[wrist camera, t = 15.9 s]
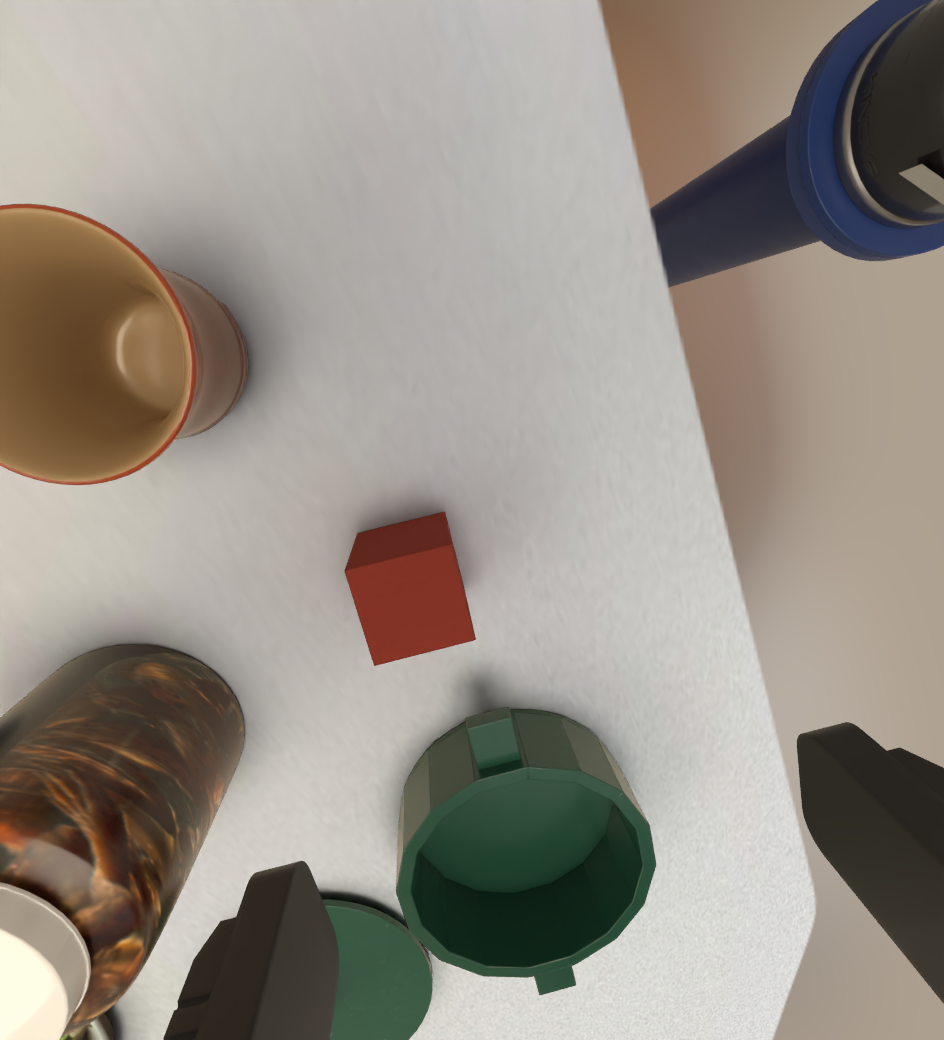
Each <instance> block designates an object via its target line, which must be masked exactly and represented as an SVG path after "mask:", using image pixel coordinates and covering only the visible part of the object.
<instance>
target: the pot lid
mask: <svg viewBox="0 0 944 1040" xmlns="http://www.w3.org/2000/svg"><path fill="white" fill-rule="evenodd" d="M323 903H324V905H325V908H326V910H327V913H328V915H329V918H330V920H331V923H332V925H333V928H334V930H335V934H336V938H337V944H338V953H339V975H338V984H337V991H336V998H335V1005H334V1013H333V1020H332V1027H331V1034H330V1040H409V1039H410V1038H411V1036H412V1035H413V1034H414V1033H415V1032H416V1031H417V1029H418V1028H419V1026H420V1024H421V1023H422V1021H423V1019H424V1017H425V1015H426V1013H427V1011H428V1008H429V1004H430V1001H431V995H432V972H431V967H430V963H429V959H428V957H427V955H426V953H425V950H424V948H423V947H422V945H421V944H420V942H419V941H418V939H417V938H416V937H415V936H414V935H413V934H412V933H411V932H410V931H409V929H407V928H406V927H405V926H404V925H403V924H401V923H400V922H399V921H397V920H396V919H394V918H392V917H391V916H389V915H387V914H385V913H383V912H381V911H379V910H377V909H374V908H371V907H368V906H365V905H362V904H358V903H353V902H348V901H340V900H330V899H328V900H323Z"/></svg>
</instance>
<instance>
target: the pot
mask: <svg viewBox="0 0 944 1040" xmlns="http://www.w3.org/2000/svg"><path fill="white" fill-rule="evenodd" d="M655 867H656V860H655V854H654V848H653V842H652V837H651V831H650V825H649V823H648V821H647V819H646V817H645V815H644V813H643V812H642V810H641V808H640V806H639V804H638V802H637V800H636V798H635V796H634V794H633V792H632V790H631V788H630V786H629V784H628V782H627V780H626V778H625V776H624V774H623V772H622V770H621V768H620V766H619V765H618V763H617V762H616V761H615V759H614V758H613V757H612V755H611V754H610V752H609V751H608V749H607V748H606V746H605V745H604V744H603V743H602V742H601V741H600V739H599V738H598V737H597V736H596V735H594V734H593V733H592V732H591V731H589V730H588V729H587V728H585V727H584V726H582V725H580V724H579V723H577V722H575V721H573V720H571V719H568V718H566V717H564V716H561V715H558V714H554V713H551V712H546V711H539V710H527V709H516V710H509V708H508V707H506V708H502V709H498V710H494V711H490V712H486V713H483V714H479V715H475V716H471V717H467V718H466V722H465V723H463V724H461V725H459V726H457V727H456V728H454V729H452V730H451V731H449V732H447V733H446V734H445V735H443V736H442V737H441V738H440V739H438V740H437V741H436V742H435V743H434V744H433V745H432V746H431V747H430V748H429V749H428V750H427V751H426V752H425V753H424V754H423V755H422V757H421V758H420V759H419V761H418V762H417V763H416V765H415V767H414V768H413V770H412V772H411V774H410V775H409V778H408V780H407V783H406V784H405V787H404V792H403V796H402V802H401V812H400V818H399V827H398V854H397V881H396V894H397V897H398V900H399V902H400V905H401V908H402V911H403V914H404V917H405V920H406V923H407V926H408V928H409V931H410V932H411V933H412V934H413V935H414V936H415V937H416V938H417V939H418V940H419V941H420V942H421V943H422V944H423V945H424V946H425V947H426V948H427V949H428V950H429V951H431V952H432V953H433V954H434V955H435V956H436V957H437V958H438V959H439V960H441V961H443V962H446V963H449V964H451V965H454V966H457V967H459V968H462V969H465V970H467V971H470V972H473V973H475V974H478V975H482V976H492V977H533V976H534V977H535V981H536V985H537V988H538V992H539V995H543V994H547V993H550V992H554V991H558V990H561V989H565V988H568V987H572V986H575V985H576V981H575V977H574V973H573V969H572V966H573V965H575V964H577V963H579V962H581V961H582V960H584V959H585V958H587V957H589V956H590V955H592V954H593V953H595V952H596V951H598V950H600V949H601V948H603V947H604V946H606V945H608V944H609V943H611V942H612V941H614V940H615V939H617V937H618V936H619V935H620V934H621V933H622V931H623V930H624V929H625V928H626V926H627V925H628V924H629V923H630V921H631V920H632V919H633V918H634V917H635V915H636V914H637V913H638V912H639V910H640V909H641V908H642V907H643V905H644V904H645V900H646V897H647V894H648V890H649V887H650V884H651V880H652V877H653V874H654V871H655Z"/></svg>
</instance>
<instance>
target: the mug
mask: <svg viewBox="0 0 944 1040" xmlns="http://www.w3.org/2000/svg"><path fill="white" fill-rule="evenodd" d="M247 375H248V353H247V348H246V344H245V341H244V338H243V335H242V333H241V331H240V329H239V327H238V325H237V323H236V321H235V319H234V318H233V316H232V314H231V313H230V311H229V309H228V308H227V307H226V306H225V305H224V304H223V303H222V302H220V301H219V300H217V299H216V298H215V297H214V296H213V295H212V294H211V293H209V292H208V291H207V290H206V289H204V288H203V287H202V286H200V285H199V284H197V283H196V282H194V281H192V280H191V279H189V278H187V277H185V276H182V275H180V274H177V273H175V272H171V271H168V270H164V269H160V268H157V267H156V266H155V265H154V264H153V263H152V262H151V261H150V260H149V259H148V258H147V256H146V255H145V254H143V253H142V252H141V251H140V250H139V249H138V248H137V247H135V246H134V245H133V244H132V243H131V242H129V241H128V240H126V239H125V238H124V237H122V236H121V235H120V234H118V233H117V232H115V231H113V230H112V229H110V228H108V227H107V226H105V225H103V224H101V223H99V222H97V221H95V220H93V219H91V218H89V217H86V216H83V215H81V214H78V213H76V212H72V211H69V210H65V209H62V208H57V207H52V206H47V205H36V204H11V205H2V206H0V466H2V467H4V468H6V469H8V470H10V471H13V472H15V473H18V474H20V475H23V476H26V477H29V478H33V479H36V480H40V481H45V482H49V483H56V484H65V485H89V484H97V483H104V482H108V481H112V480H116V479H119V478H122V477H125V476H127V475H130V474H132V473H134V472H136V471H138V470H140V469H141V468H143V467H145V466H146V465H148V464H150V463H151V462H152V461H154V460H155V459H156V458H157V457H159V456H160V455H161V454H162V453H163V452H164V451H165V450H166V449H167V448H168V447H169V446H170V445H171V443H172V442H173V441H174V440H176V439H180V438H186V437H190V436H194V435H197V434H199V433H202V432H204V431H206V430H208V429H209V428H211V427H213V426H214V425H215V424H217V423H218V422H219V421H220V420H222V419H223V418H224V417H225V416H226V415H227V414H228V413H229V412H230V411H231V410H232V409H233V408H234V406H235V405H236V403H237V402H238V400H239V398H240V396H241V394H242V392H243V390H244V387H245V384H246V381H247Z"/></svg>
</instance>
